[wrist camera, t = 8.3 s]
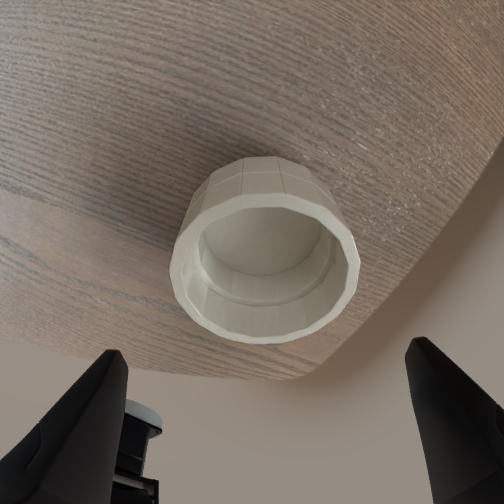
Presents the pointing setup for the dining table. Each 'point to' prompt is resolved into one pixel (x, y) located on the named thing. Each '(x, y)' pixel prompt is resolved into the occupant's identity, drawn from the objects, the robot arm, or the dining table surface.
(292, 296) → the bowl
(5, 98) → the dining table surface
